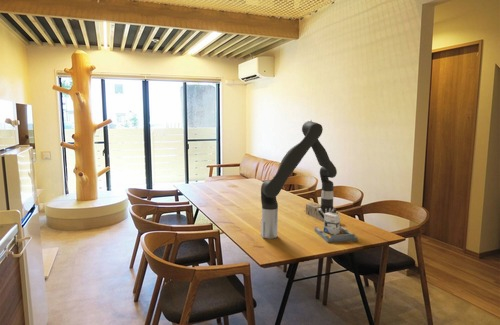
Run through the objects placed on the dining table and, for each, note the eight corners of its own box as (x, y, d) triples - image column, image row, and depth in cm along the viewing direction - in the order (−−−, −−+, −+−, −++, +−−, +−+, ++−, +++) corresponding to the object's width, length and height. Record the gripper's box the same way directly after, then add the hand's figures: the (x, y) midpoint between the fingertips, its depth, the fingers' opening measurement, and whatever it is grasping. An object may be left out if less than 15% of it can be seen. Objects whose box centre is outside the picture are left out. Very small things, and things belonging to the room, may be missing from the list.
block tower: (304, 214, 248) (328, 224, 221) (304, 203, 247) (328, 212, 220) (313, 213, 251) (338, 223, 224) (313, 202, 250) (338, 210, 223)
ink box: (323, 231, 206) (323, 213, 205) (327, 230, 209) (328, 211, 208) (335, 235, 200) (336, 216, 199) (339, 233, 203) (340, 214, 202)
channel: (327, 242, 188) (327, 235, 187) (314, 230, 208) (314, 224, 208) (357, 241, 191) (357, 234, 190) (341, 229, 211) (341, 223, 211)
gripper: (319, 199, 207) (318, 226, 209) (339, 198, 209) (338, 225, 211) (315, 196, 214) (314, 222, 216) (334, 195, 216) (333, 221, 219)
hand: (326, 223), depth 214 cm, fingers closed
